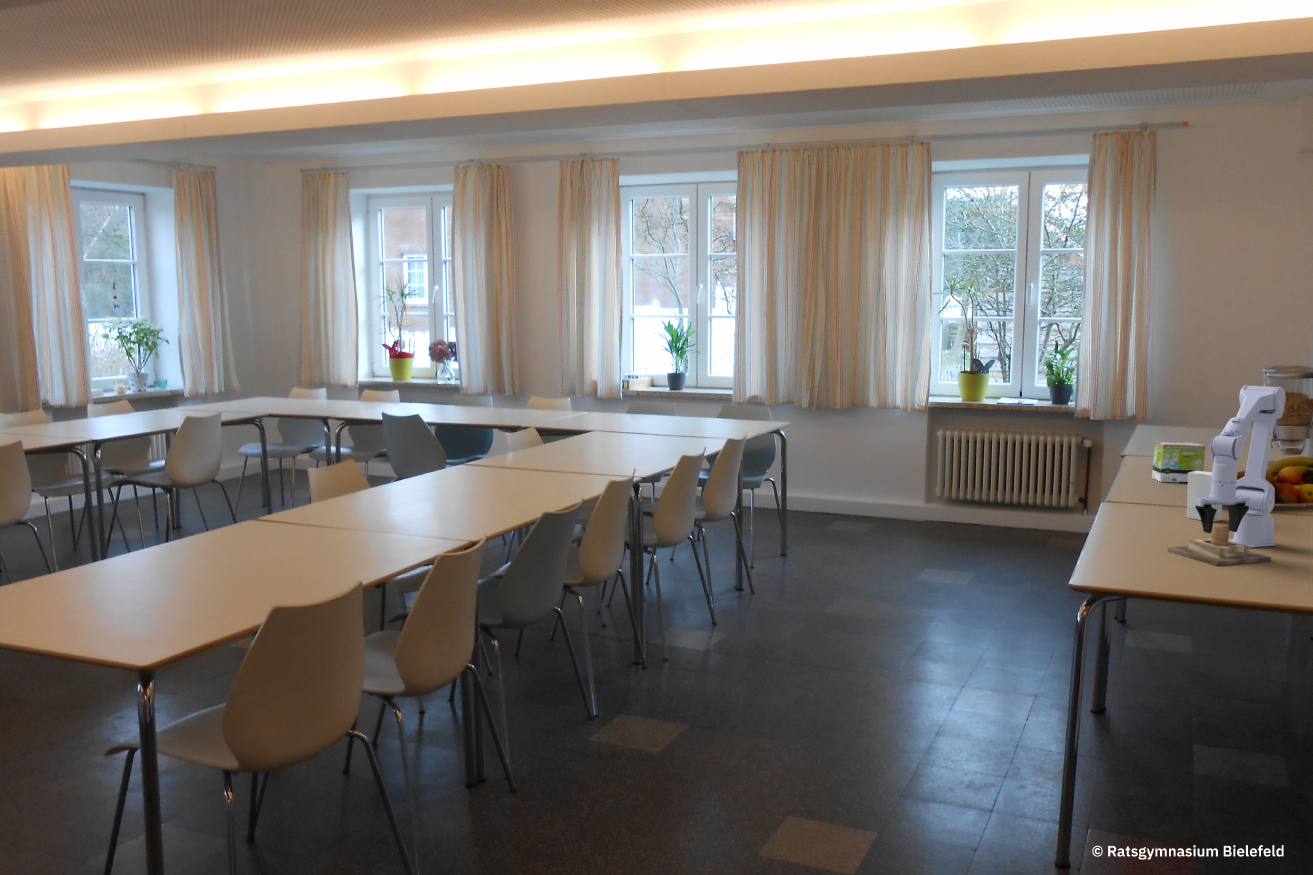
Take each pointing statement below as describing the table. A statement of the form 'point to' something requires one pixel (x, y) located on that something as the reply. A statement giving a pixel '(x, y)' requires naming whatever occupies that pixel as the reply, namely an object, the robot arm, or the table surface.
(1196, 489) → the skincare box
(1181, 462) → the tea box
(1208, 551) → the socket
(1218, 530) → the peg
